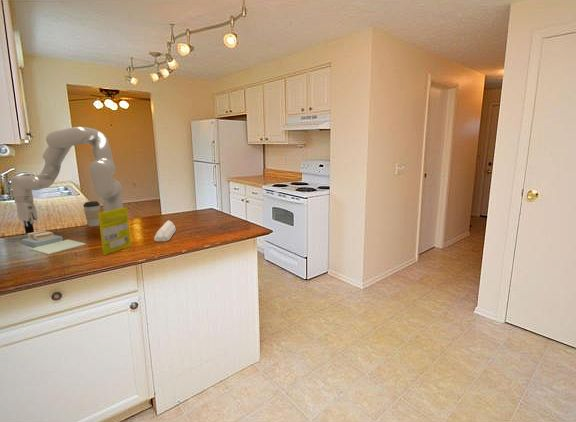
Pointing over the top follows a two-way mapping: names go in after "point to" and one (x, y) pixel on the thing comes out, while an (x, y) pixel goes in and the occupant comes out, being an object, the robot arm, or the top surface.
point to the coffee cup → (92, 212)
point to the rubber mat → (58, 246)
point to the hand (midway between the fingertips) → (29, 233)
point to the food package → (114, 230)
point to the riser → (41, 241)
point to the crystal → (165, 232)
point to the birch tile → (40, 235)
